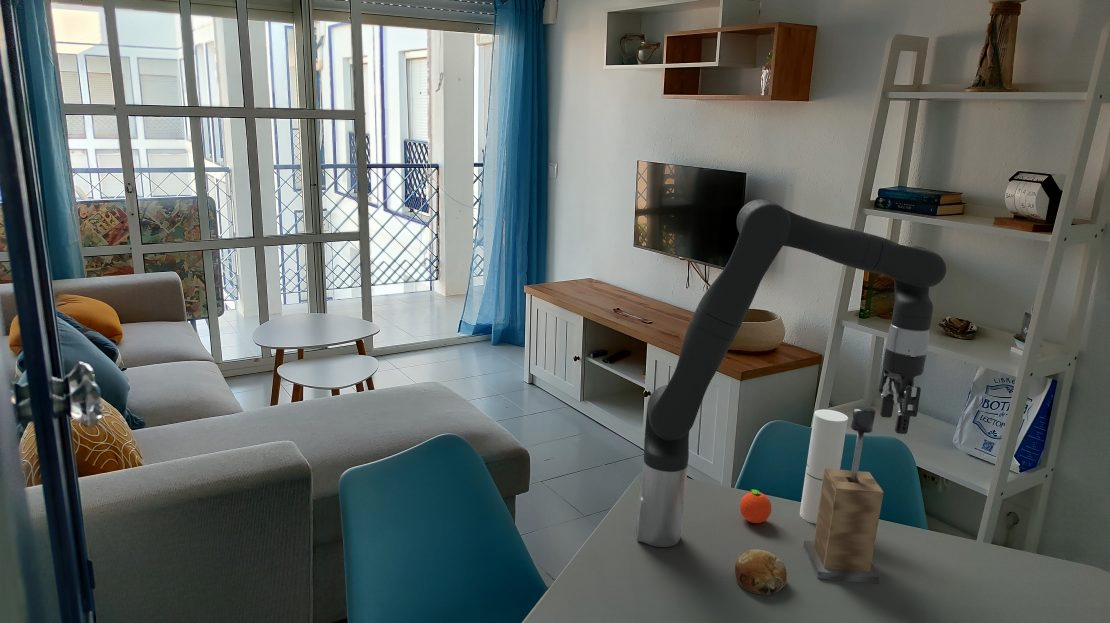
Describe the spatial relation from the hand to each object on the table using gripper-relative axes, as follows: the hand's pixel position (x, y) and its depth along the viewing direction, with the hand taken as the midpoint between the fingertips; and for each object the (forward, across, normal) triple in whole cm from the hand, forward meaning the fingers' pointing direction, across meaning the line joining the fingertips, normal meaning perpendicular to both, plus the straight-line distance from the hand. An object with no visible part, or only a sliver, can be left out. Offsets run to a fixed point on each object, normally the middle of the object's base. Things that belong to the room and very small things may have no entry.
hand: (892, 424), depth 162 cm
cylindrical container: (+30, -15, -8) cm, 34 cm away
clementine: (+30, -11, -23) cm, 39 cm away
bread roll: (+30, +14, -26) cm, 42 cm away
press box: (+30, +5, -8) cm, 31 cm away
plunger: (+19, +5, -8) cm, 22 cm away
